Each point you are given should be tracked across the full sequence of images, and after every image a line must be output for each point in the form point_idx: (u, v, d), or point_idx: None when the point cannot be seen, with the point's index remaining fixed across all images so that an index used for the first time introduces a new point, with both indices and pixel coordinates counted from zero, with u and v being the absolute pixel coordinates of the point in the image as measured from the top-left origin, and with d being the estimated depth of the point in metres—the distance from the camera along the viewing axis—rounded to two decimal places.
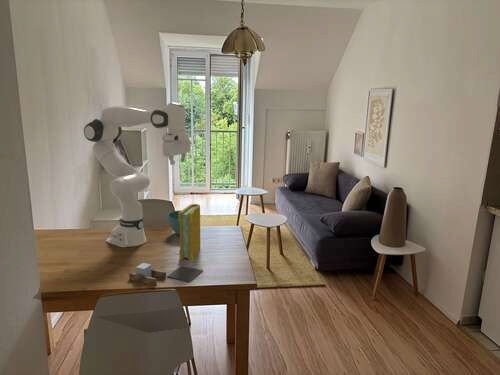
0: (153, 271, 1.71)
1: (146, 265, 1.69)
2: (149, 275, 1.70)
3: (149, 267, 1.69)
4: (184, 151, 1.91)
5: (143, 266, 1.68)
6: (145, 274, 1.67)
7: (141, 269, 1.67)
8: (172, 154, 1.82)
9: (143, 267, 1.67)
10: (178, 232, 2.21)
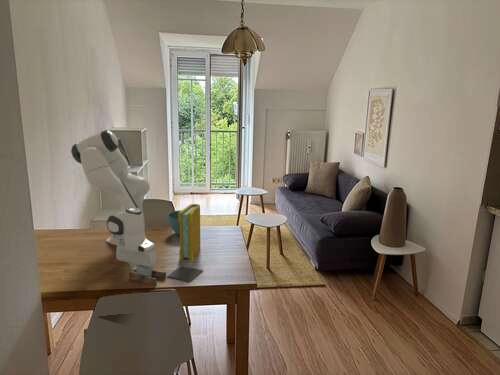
0: (153, 271, 1.71)
1: None
2: (149, 275, 1.70)
3: None
4: None
5: (145, 266, 1.68)
6: (146, 274, 1.67)
7: (143, 269, 1.66)
8: None
9: (145, 267, 1.67)
10: (178, 232, 2.21)
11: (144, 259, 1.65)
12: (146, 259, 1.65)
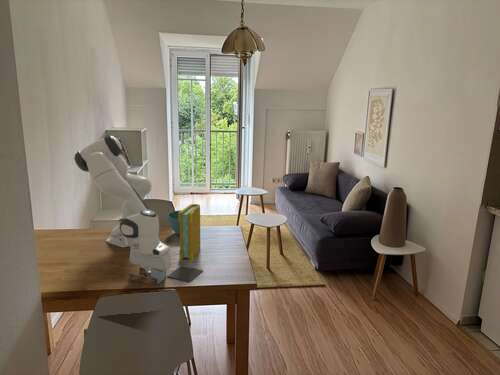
0: None
1: None
2: (162, 278, 1.67)
3: (165, 271, 1.66)
4: None
5: None
6: (160, 278, 1.64)
7: (157, 272, 1.63)
8: None
9: (159, 271, 1.64)
10: (178, 232, 2.21)
11: (159, 262, 1.62)
12: (161, 262, 1.62)
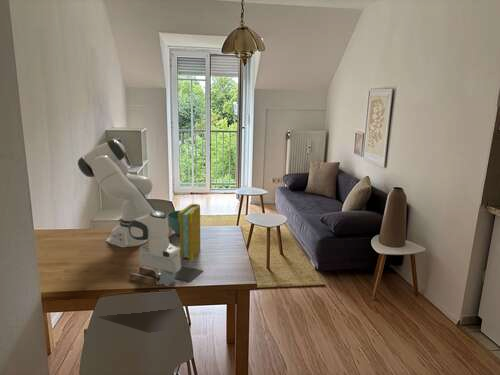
0: (153, 271, 1.71)
1: None
2: (172, 280, 1.66)
3: (174, 273, 1.65)
4: None
5: None
6: (169, 280, 1.62)
7: (167, 274, 1.62)
8: None
9: (169, 273, 1.62)
10: (178, 232, 2.21)
11: (169, 264, 1.61)
12: (171, 264, 1.60)
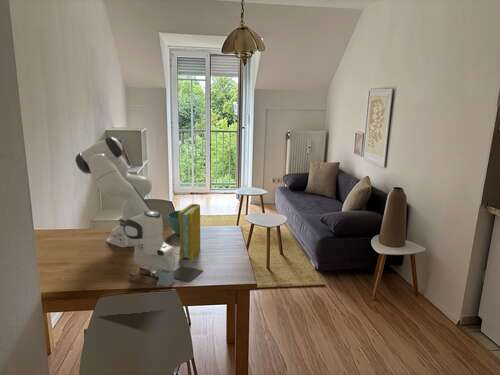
0: None
1: None
2: (171, 280, 1.66)
3: (171, 272, 1.65)
4: None
5: (166, 271, 1.64)
6: (168, 279, 1.63)
7: (164, 274, 1.62)
8: None
9: (166, 272, 1.63)
10: (178, 232, 2.21)
11: (163, 262, 1.63)
12: (165, 263, 1.62)
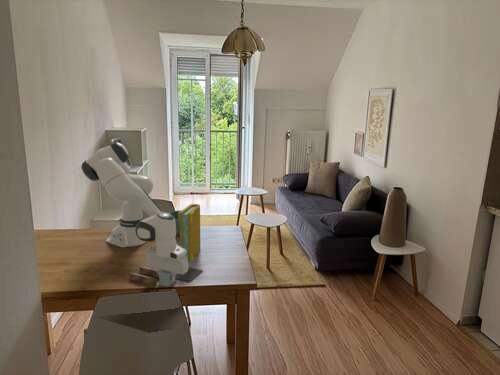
0: (153, 271, 1.71)
1: None
2: None
3: None
4: None
5: (167, 271, 1.64)
6: (168, 279, 1.63)
7: (164, 274, 1.62)
8: None
9: (166, 272, 1.63)
10: (178, 232, 2.21)
11: (176, 265, 1.59)
12: (178, 266, 1.59)
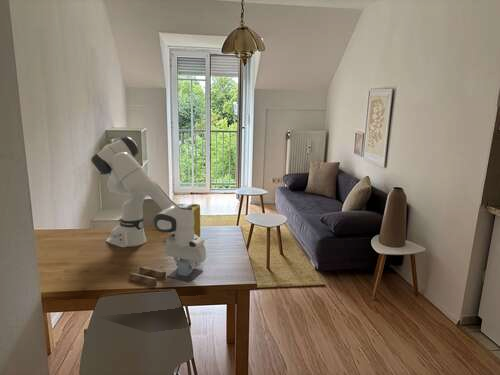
0: (153, 271, 1.71)
1: (187, 260, 1.74)
2: (190, 270, 1.74)
3: (190, 262, 1.74)
4: None
5: (185, 261, 1.73)
6: (187, 269, 1.72)
7: (183, 264, 1.71)
8: None
9: (185, 262, 1.72)
10: None
11: (194, 254, 1.68)
12: (196, 254, 1.68)
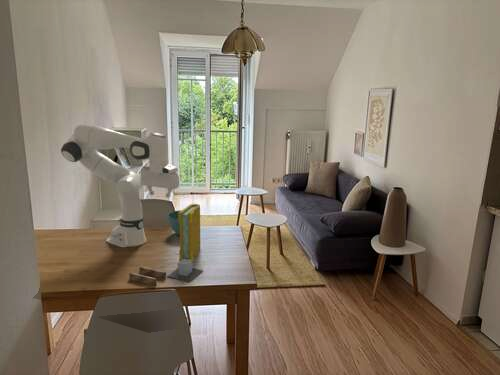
0: (153, 271, 1.71)
1: (187, 260, 1.74)
2: (190, 270, 1.74)
3: (190, 262, 1.74)
4: None
5: (185, 261, 1.73)
6: (187, 269, 1.72)
7: (183, 264, 1.71)
8: None
9: (185, 262, 1.72)
10: (178, 232, 2.21)
11: (168, 181, 1.74)
12: (170, 181, 1.74)
